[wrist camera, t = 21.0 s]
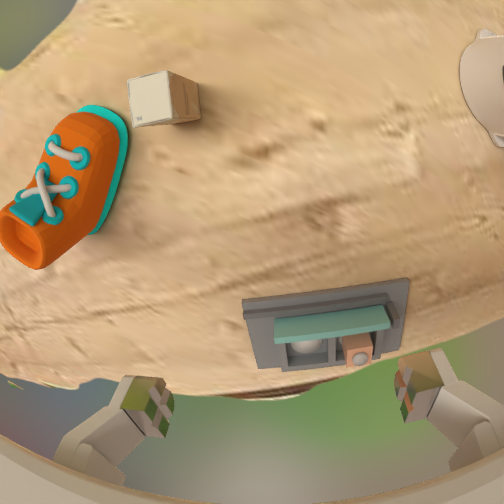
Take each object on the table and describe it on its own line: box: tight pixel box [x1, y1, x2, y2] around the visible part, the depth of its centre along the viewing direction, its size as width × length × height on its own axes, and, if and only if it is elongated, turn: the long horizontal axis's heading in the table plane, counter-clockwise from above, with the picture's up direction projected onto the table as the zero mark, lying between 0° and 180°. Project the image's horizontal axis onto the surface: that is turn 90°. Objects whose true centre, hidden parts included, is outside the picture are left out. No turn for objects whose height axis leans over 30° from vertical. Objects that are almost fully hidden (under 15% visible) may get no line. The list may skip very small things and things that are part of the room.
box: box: [127, 70, 201, 128], centre depth 28 cm, size 5×4×11 cm
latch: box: [274, 305, 390, 344], centre depth 42 cm, size 17×1×4 cm, turn 100°
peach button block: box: [342, 332, 373, 367], centre depth 43 cm, size 4×4×6 cm
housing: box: [242, 278, 409, 372], centre depth 44 cm, size 26×15×6 cm, turn 100°
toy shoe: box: [0, 105, 128, 270], centre depth 31 cm, size 12×20×15 cm, turn 152°
